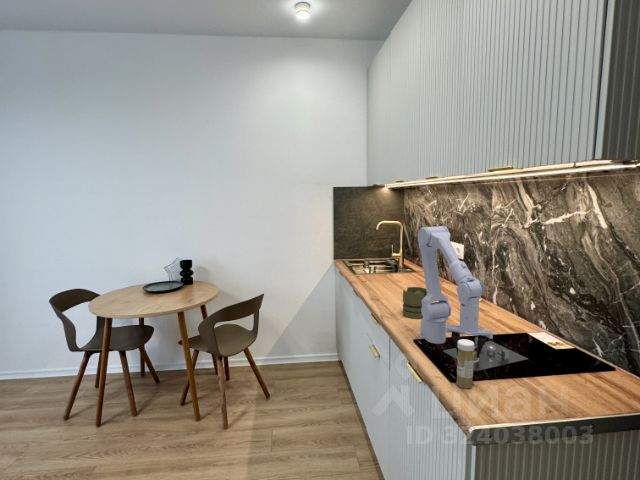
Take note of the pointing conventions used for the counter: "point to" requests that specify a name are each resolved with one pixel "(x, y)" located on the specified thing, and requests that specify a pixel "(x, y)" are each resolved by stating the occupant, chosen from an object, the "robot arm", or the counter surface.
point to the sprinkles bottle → (465, 363)
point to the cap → (475, 353)
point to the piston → (413, 302)
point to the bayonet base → (490, 355)
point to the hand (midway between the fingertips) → (467, 355)
